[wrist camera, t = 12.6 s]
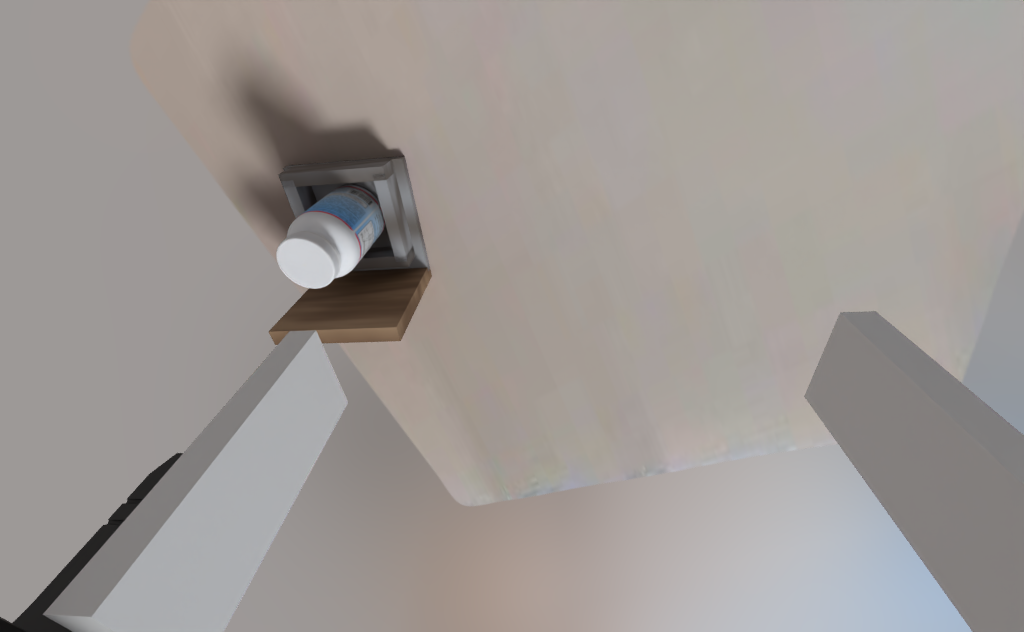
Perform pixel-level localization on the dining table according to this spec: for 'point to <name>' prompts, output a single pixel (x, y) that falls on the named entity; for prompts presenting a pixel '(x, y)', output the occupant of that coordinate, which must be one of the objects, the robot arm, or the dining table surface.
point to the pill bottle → (331, 237)
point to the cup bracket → (382, 270)
